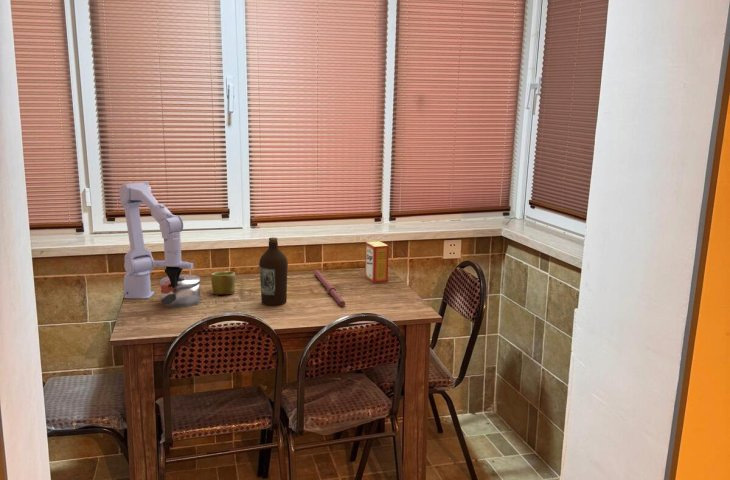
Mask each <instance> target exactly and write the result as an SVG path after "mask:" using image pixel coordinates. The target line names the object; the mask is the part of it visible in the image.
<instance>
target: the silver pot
mask: <svg viewBox="0 0 730 480" xmlns="http://www.w3.org/2000/svg"><path fill="white" fill-rule="evenodd" d="M200 285H201V282H200V283H199V284H198V285H196V286H193V287H188V288H175V289H174V290H173V291H171V292H170V293H168V294H163V293H161V304H162V305H163V306H166V307H168V308H169V307H170V308H185V307H191V306H195V305H197V304H199V303H200V302H201V286H200Z"/></svg>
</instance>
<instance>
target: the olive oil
mask: <svg viewBox="0 0 730 480" xmlns="http://www.w3.org/2000/svg"><path fill="white" fill-rule="evenodd" d="M278 245H279V242H278V237H274V236H273V237H269V238H268V249H266V251H264V253H263V254H262V255H261V257H260V258H259V265H258V268H259V279H260V280H259V281H260V295H261V299H260V300H261V303H262V305H265V306H267V307H268V306H269V307H278V306H282V305H285V304H286V303H287V302H288V301H287V299H288V298H287V297H288V296H287V294H288V293H287V291H288V265H289V263H288V259H287V256H286V254H284V253H283V252H282V250H281V249H279V247H278Z"/></svg>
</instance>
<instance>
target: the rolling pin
mask: <svg viewBox="0 0 730 480" xmlns="http://www.w3.org/2000/svg"><path fill="white" fill-rule="evenodd" d="M313 274H314V275H315V276H316V277H317V279H318V280H319V282H320V283H321V284H322V285H323V287H325V289H326V290H327V291H326V292H327V293H328V294H329V295H330V296H332V297H333V299H334V300H335V302H336V303H337V304H338V305H339V306H340V307H341V308H344V307H345V305H346V302H345V301H344V299H343V298H342V297H341V295H340V294H338V292H337V290H336V288H335V287H334V286H332V285H331V283H330V282H328V280H327V279H326V278H325V276H324V275H323V274H322V273H321V271H319V270H318V269H314V271H313Z"/></svg>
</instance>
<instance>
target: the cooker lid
mask: <svg viewBox="0 0 730 480" xmlns="http://www.w3.org/2000/svg"><path fill="white" fill-rule="evenodd" d="M199 283H200V284H201V277H200V276H198V275H197V274H195V275H194V274H187V273H184V274H183V273H182V274H181V273H180V276H179V279H178V284H177V287H175V288H188V287H193V286H196V285H198V284H199ZM159 284H160V293H161V294H162V293H163V294H168V293H170V292H171V291H173V290H174V289H175V288H172V285H171V282H170V279H169V277H168V275H166V276H164V277H162V278H161V279H160V280H159Z"/></svg>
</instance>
